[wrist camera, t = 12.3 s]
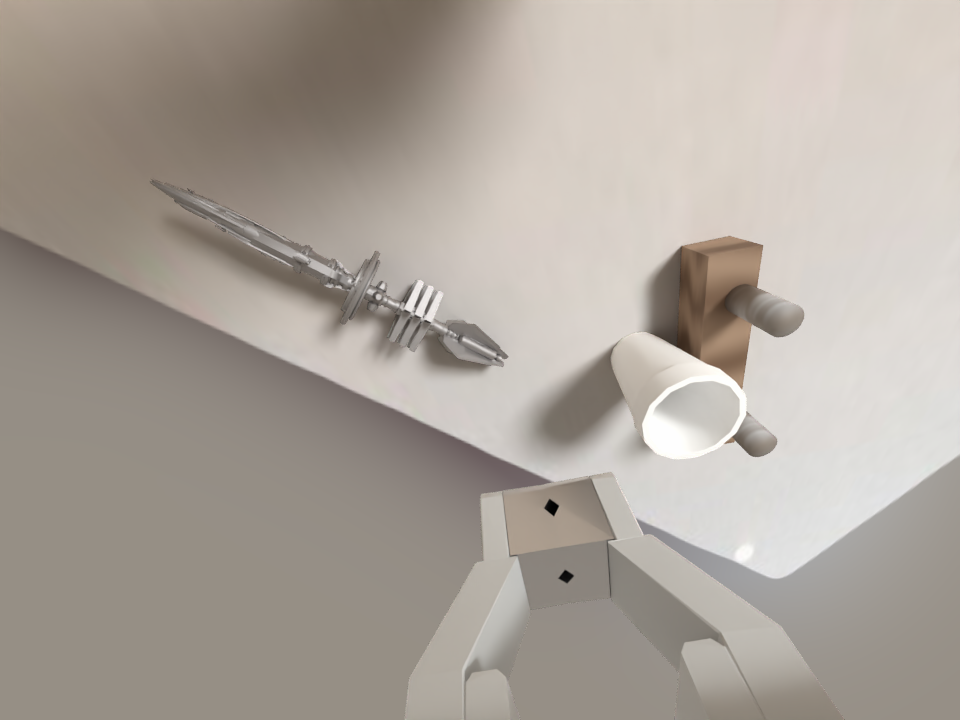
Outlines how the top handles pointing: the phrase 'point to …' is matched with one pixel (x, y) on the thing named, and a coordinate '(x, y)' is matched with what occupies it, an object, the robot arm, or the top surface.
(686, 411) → the foam cup
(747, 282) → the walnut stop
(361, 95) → the top surface
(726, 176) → the top surface
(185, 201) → the spaceship
